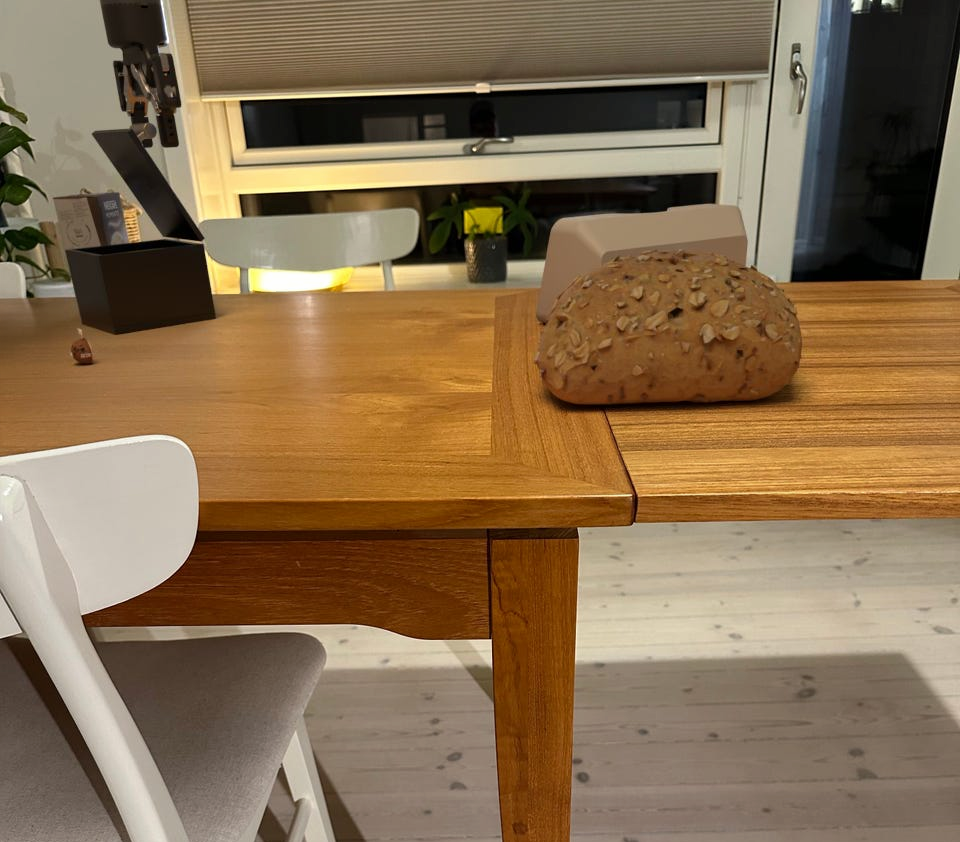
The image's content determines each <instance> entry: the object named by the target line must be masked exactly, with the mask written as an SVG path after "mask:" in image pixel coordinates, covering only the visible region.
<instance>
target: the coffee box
mask: <svg viewBox="0 0 960 842" xmlns="http://www.w3.org/2000/svg"><path fill="white" fill-rule="evenodd" d="M52 199H53V203H54V208H55V212H56V216H57V222H58V225H59V230H60V234H61V240H62V243H63V248H64V252H65V250H68V249H77V248H86V247H95V246H105V245H114V244H123V243H130V240H129V234H128V231H127V230H128V229H127V224H126V220H125V215H124V210H123V205H122V200H121V194H120V192H114V191H113V192H112V191H111V192H110V191H109V192H94V193H79V194H69V195H61V196H53V197H52ZM65 254H66V252H65ZM65 257H66V258H67V256H66V255H65ZM66 262H67V263H68V261H67V260H66ZM67 265H68V264H67ZM68 267H69V265H68ZM68 270H69V271H70V269H69V268H68ZM69 274H70V273H69ZM70 276H71V274H70ZM70 279H71V280H72V278H71V277H70ZM71 283H72V284H73V282H72V281H71ZM72 287H73V289H74V286H73V285H72ZM73 291H74V290H73ZM74 293H75V291H74ZM74 296H75V301H76V302H77V299H76V295H75V294H74ZM76 304H77V303H76ZM77 306H78V304H77ZM77 309H78V310H77V311H78V314H79V315H80V312H79V308H78V307H77Z"/></svg>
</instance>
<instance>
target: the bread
mask: <svg viewBox="0 0 960 842" xmlns="http://www.w3.org/2000/svg"><path fill="white" fill-rule="evenodd" d="M619 256H620V255H619ZM619 256H618V257H616V258H615V259H613V260H612V261H610V262H609V263H605V264H603V265H600V266H598V267H596V268H594V269H593V270H591V271H589V272H587V273H586V274H585V275H584V276H581V275H578V276H577V277H576V278H575V279H574V280H573V281H572V283H571V284H570V285H569V286H568V287H567V288H566V289H564V290H563V291H562V292H561V293H560V294H559V295H558V296H557V299H558V300H555V302H554V303H553V306H552V309H551V312H550V314H549V316H548V318H547V321H546V323H545V325H544V328H542V329H541V332H540V333H539V334H540V335H539V339H538V341H539V342H537V349H536V352H535V356H534V358H533V359H534V360H533V362H532V365H536V366H537V369H538V373H539V378H541V381H542V383H543V385H545V387H546V388H547V389H548V391H549V392H551V394H552V395H553V396H555V397H556V398H557V399H560V401H561V400H562V401H564V402H566V403H570V404H574V405H590V406H593V405H596V406H597V405H621V404H643V403H679V402H691V403H714V402H738V401H739V402H746V401H748V402H749V401H750V402H751V401H758V400H761V399H764V398H767V397H769V396H771V395H774V394H776V393H777V392H780V391H781V390H782V389H783V388H784V387H786V386H787V385H788V384H789V383H790V382H791V381H792V379H793V377H794V376H795V375H796V373H797V371H798V369H799V367H800V363H801V360H803V357H802V349H803V339H802V330H801V326H800V321H799V319H798V316H797V315H798V314H799V313H798V310H797V309H798V308H796V307H795V303H793V301H791V297H790V296H788V295H787V293H785V289H783V288H782V287H781V288H780V287H779V286H777V284H776V283H775V281H774V279H772V278H771V277H770V276H768V275H766V274H764V273H762V272H760V271H759V270H758V268H757V266H756V265H752V264H751V265H750V267H748V266H747V265H746V266H743V265H742V264H740V263H736V262H734V260H728V259H727V257H725V256H722V255H718V254H716V253H714V252H713V253H712V254H708V253H705V252H701V251H697V250H690V249H685V250H682V249H673V250H660V251H658V250H650V251H645V252H642V253H641V254H640V255H638V256H634V257H631V256H632V255H629V256H627V257H620V259H619Z"/></svg>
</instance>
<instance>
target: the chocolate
mask: <svg viewBox="0 0 960 842" xmlns="http://www.w3.org/2000/svg"><path fill="white" fill-rule="evenodd" d="M77 331H78V334H79V335H80V338H79V339H77V340H75V341H74V342H73V343H72V345H71V348H70V351H69V354H70V356H71V357H72V358H73V359H74V361H76V362H78V363H81V364H84V365H85V364H86V365H87V364H92V363H93V362H94V353H93V347H92V346H91V344H90V342H89V340H88V339H87V338H85V337H84V335H83V330H82V329H80V328H77Z"/></svg>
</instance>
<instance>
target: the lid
mask: <svg viewBox="0 0 960 842" xmlns="http://www.w3.org/2000/svg"><path fill="white" fill-rule="evenodd" d="M157 134H158V128H157V127H156V126H155V124H153V123H152V122H149V123H140V124H132V123H131V125H130V126H129V128H117V129H115V128H114V129H101V130H94V131H93V132H92V133H91V136H92V137H93V139H94V140H95V142H96V143H97V144H98V146H99V147H100V149H101V150H102V152H103V153H104V154H105V156H106V157H107V158H108V160H109V161H110V163H111V165H112V166H113V167H114V169H115V170H116V171H117V173H118V174H119V176H120V177H121V179H122V180H123V182H124V183H125V184H126V186H127V187H128V189H129V190H130V192H131V193H132V195H133V196H134V197H135V199H136V200H137V202H138V203H139V205H140V206H141V208H142V209H143V210H144V212H145V213H146V215H147V216H148V218H149V219H150V221H151V222H152V223H153V224H154V227H156V229H157V230H158V232H159V233H160V235H161V236H162V237H163V238H167V239H175V240H176V239H177V240H183V241H191V242H192V241H193V242H198V243H201V242H203V241H204V240H205V238H206V237H205V236H204V234H203V233H202V231H201V230H200V228H199V227H198V226H197V224H196V223H195V221H194V220H193V218H192V217H191V215H190V214H189V212H188V210H187V209H186V207H185V206H184V205H183V203H182V202H181V200H180V199H179V197H178V196H177V194H176V192H175V191H174V189H173V188H172V187H171V185H170V184H169V182H168V180H167V178H166V177H165V176H164V174H163V173H162V170H160V169H159V167H158V165H157V164H156V162H155V160H154V159H153V158H152V156H151V155H150V153H149V152H148V150H147V148H145V147H144V146H143V144H142V143H141V141H142V140H144V139H151V138H152V139H154V138H156V137H157Z"/></svg>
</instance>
